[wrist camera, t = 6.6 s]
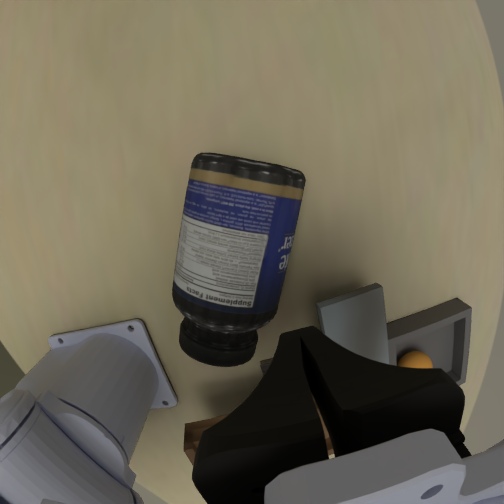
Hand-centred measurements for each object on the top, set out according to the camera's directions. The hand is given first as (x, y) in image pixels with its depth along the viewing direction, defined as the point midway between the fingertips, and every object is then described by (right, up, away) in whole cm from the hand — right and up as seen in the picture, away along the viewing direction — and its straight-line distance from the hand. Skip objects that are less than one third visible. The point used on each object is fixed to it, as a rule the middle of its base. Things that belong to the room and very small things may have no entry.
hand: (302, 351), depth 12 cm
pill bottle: (-2, +9, +5) cm, 10 cm away
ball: (+10, -5, +9) cm, 15 cm away
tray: (+12, -4, +11) cm, 17 cm away
